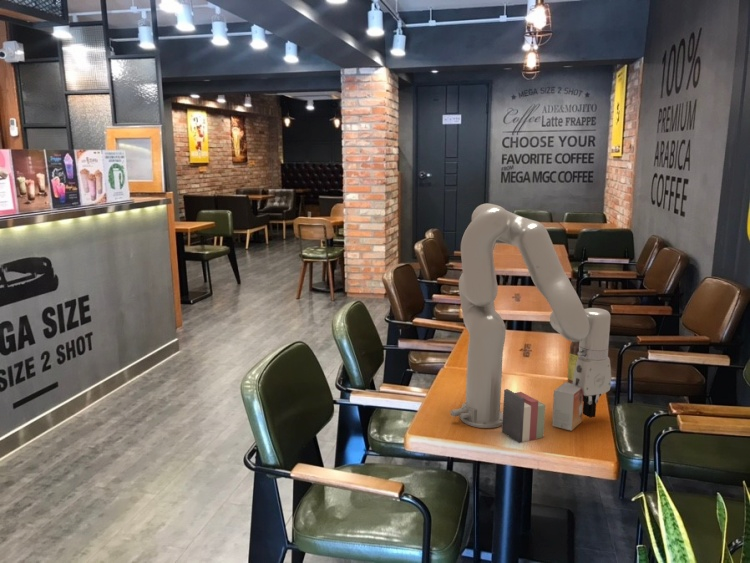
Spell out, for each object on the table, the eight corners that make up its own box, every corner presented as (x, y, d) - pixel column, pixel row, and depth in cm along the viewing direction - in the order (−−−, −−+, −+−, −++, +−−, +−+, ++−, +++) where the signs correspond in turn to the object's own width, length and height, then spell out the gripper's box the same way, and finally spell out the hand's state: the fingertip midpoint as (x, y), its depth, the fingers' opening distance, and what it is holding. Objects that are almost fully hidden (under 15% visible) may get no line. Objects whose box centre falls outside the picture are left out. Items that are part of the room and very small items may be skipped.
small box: (571, 431, 156) (573, 394, 154) (551, 426, 160) (553, 390, 158) (582, 421, 162) (584, 385, 160) (562, 416, 166) (564, 381, 164)
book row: (519, 442, 150) (521, 398, 148) (502, 432, 156) (504, 389, 154) (543, 437, 153) (546, 393, 151) (525, 426, 159) (528, 385, 157)
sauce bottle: (584, 389, 187) (589, 329, 184) (564, 385, 191) (569, 326, 187) (589, 382, 193) (593, 324, 189) (569, 379, 196) (573, 322, 192)
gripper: (583, 360, 154) (578, 425, 157) (623, 353, 160) (618, 415, 164) (562, 353, 161) (559, 415, 164) (602, 346, 167) (598, 406, 170)
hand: (588, 415), depth 164 cm, fingers closed
